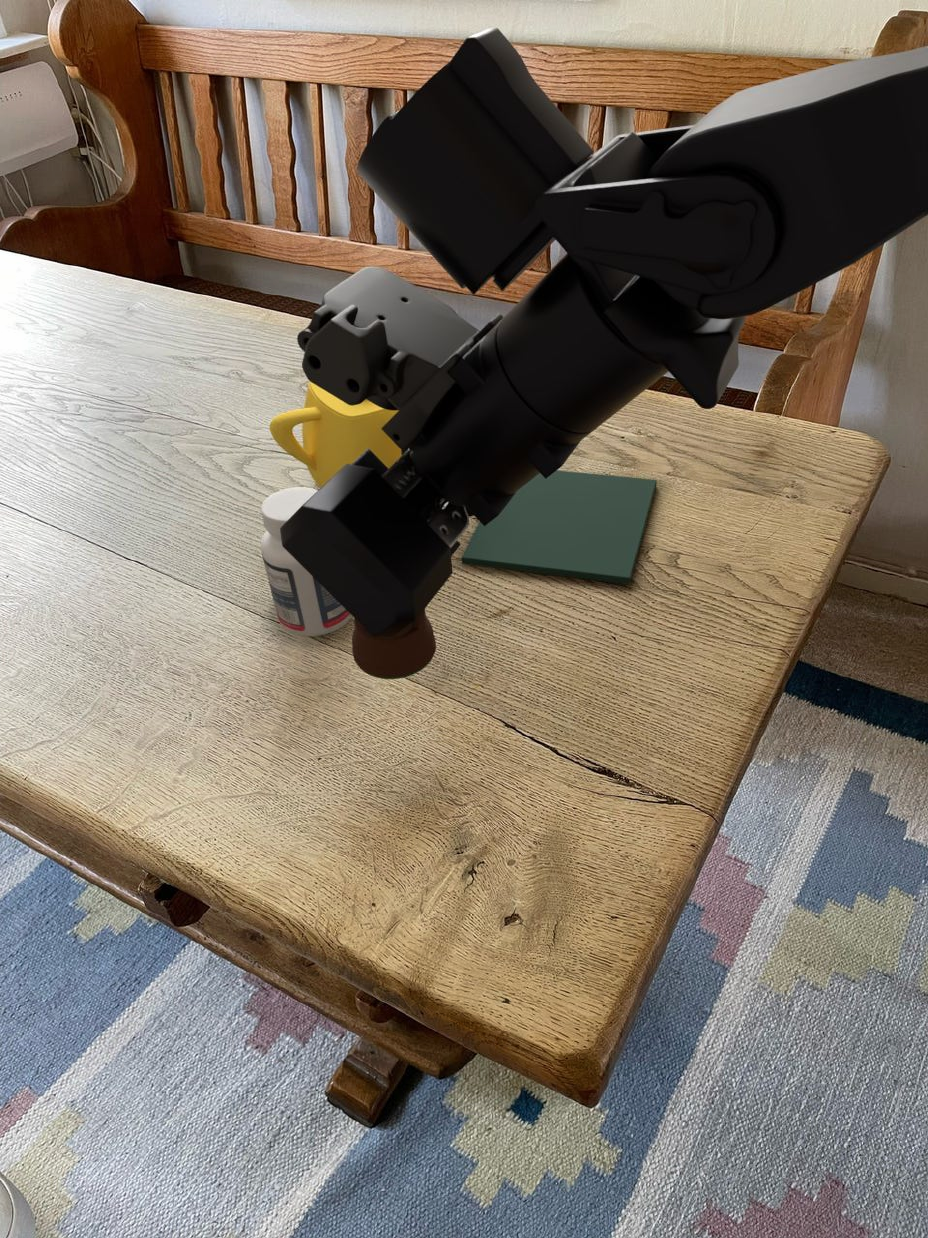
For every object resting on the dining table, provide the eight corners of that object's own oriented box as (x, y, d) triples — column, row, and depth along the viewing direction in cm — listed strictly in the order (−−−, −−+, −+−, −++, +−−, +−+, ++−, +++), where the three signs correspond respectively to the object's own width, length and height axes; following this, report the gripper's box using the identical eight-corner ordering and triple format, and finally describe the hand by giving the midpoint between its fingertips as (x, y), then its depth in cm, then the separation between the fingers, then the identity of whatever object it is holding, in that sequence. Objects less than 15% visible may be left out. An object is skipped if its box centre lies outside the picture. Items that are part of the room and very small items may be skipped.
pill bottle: (355, 586, 67) (336, 476, 62) (356, 634, 63) (336, 520, 58) (279, 595, 67) (254, 485, 61) (276, 643, 63) (248, 530, 57)
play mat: (656, 486, 75) (656, 479, 75) (629, 585, 65) (630, 577, 65) (507, 471, 78) (507, 465, 78) (461, 564, 69) (460, 557, 68)
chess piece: (382, 615, 56) (360, 466, 49) (459, 641, 53) (445, 489, 47) (337, 665, 53) (306, 513, 46) (415, 693, 51) (395, 540, 44)
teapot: (263, 515, 75) (235, 394, 69) (333, 437, 84) (314, 324, 78) (426, 540, 71) (412, 414, 65) (481, 455, 80) (474, 337, 74)
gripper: (507, 151, 43) (337, 356, 54) (272, 304, 30) (113, 531, 41) (668, 338, 45) (472, 499, 56) (512, 555, 32) (298, 708, 43)
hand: (354, 547), depth 49 cm, fingers closed on chess piece
